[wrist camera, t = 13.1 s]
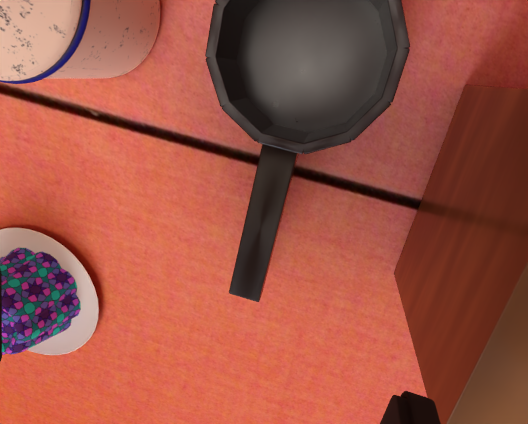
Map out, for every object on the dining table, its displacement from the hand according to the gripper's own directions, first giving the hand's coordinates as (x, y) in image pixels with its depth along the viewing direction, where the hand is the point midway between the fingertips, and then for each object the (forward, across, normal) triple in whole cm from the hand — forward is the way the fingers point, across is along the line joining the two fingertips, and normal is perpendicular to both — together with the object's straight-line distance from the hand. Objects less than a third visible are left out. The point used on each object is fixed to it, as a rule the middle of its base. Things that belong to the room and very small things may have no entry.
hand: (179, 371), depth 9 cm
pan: (+20, +1, -3) cm, 20 cm away
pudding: (+20, +18, +16) cm, 31 cm away
